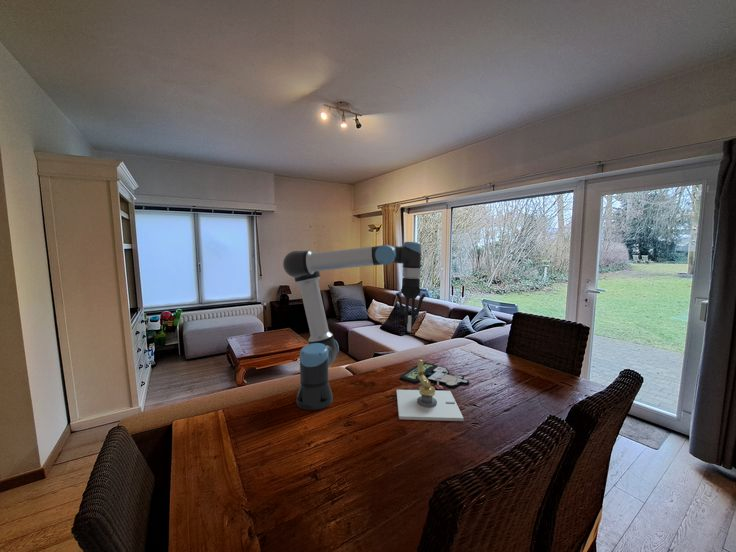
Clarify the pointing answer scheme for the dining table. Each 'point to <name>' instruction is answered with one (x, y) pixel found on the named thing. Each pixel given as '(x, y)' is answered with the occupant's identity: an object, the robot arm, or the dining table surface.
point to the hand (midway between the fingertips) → (408, 330)
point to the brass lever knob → (424, 382)
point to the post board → (427, 406)
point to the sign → (435, 377)
